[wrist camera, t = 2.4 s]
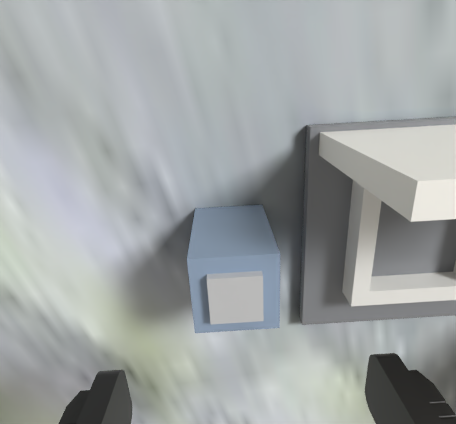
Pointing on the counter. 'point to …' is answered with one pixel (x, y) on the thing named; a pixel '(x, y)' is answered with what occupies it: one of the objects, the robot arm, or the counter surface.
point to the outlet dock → (379, 221)
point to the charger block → (233, 270)
